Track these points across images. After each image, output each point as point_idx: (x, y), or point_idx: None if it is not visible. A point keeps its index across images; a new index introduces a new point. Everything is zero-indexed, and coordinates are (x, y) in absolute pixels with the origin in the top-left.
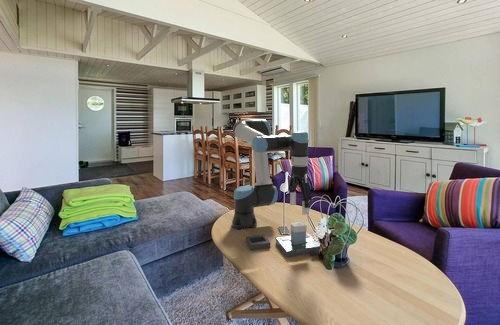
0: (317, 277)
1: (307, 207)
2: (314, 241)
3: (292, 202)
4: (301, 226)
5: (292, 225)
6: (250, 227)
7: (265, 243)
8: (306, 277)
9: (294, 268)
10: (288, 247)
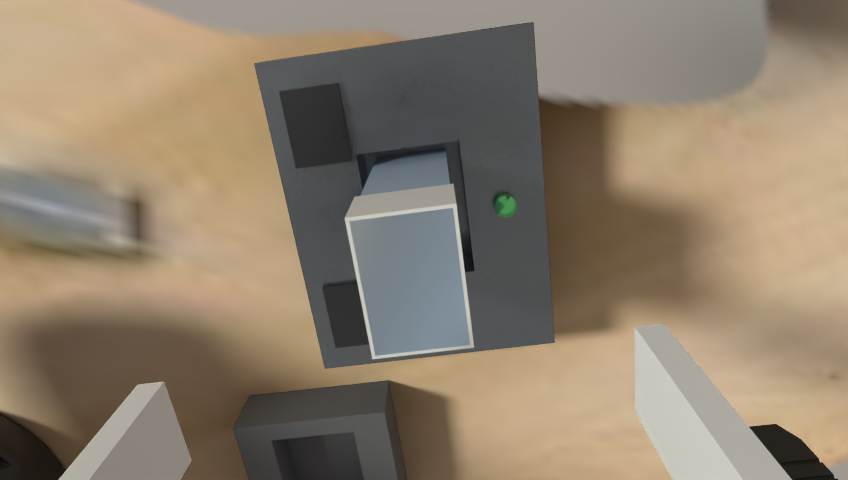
0: (800, 188)
1: (782, 447)
2: (436, 68)
3: (158, 470)
4: (463, 262)
5: (424, 349)
6: (44, 466)
7: (390, 443)
8: (774, 254)
9: (658, 294)
10: (502, 318)
